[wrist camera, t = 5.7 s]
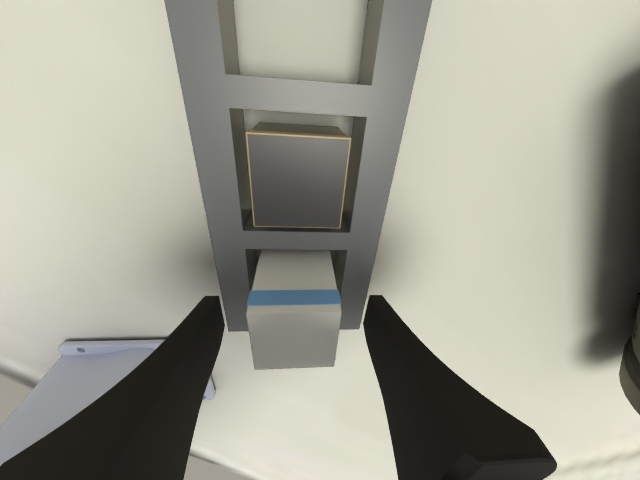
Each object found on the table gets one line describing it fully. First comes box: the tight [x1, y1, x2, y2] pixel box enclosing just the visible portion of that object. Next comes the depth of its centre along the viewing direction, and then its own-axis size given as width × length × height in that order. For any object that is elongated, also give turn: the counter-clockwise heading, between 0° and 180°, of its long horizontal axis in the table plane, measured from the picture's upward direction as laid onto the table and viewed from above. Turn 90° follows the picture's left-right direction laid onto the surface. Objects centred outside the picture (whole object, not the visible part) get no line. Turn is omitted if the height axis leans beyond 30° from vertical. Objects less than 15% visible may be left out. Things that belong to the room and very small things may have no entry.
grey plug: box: [246, 249, 341, 370], centre depth 13 cm, size 4×4×6 cm
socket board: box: [164, 0, 432, 331], centre depth 11 cm, size 8×19×3 cm, turn 176°
